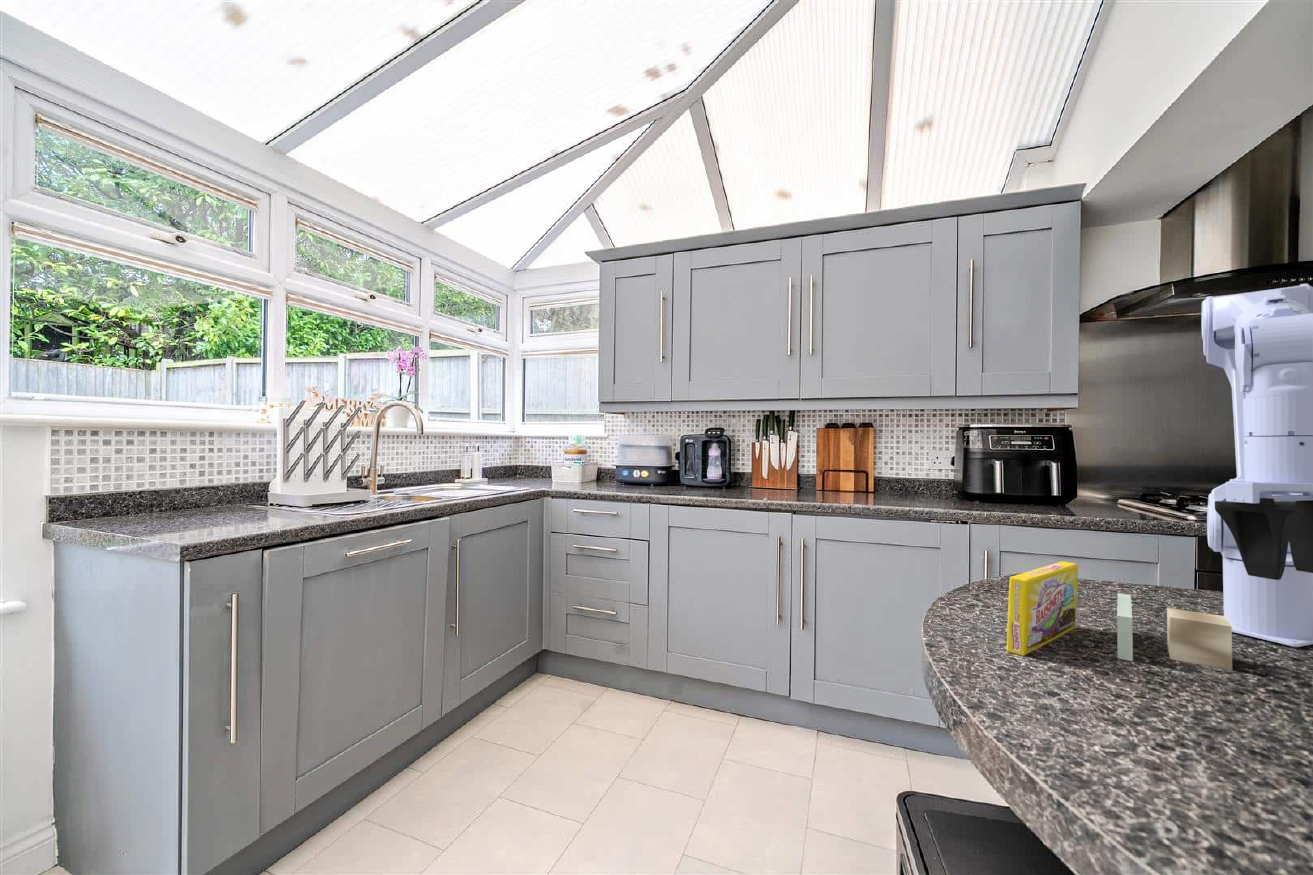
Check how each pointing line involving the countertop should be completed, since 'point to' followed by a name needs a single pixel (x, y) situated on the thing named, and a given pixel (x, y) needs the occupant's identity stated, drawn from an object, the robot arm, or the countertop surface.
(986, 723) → the countertop surface
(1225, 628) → the maple block
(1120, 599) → the sage board
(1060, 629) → the candy box
